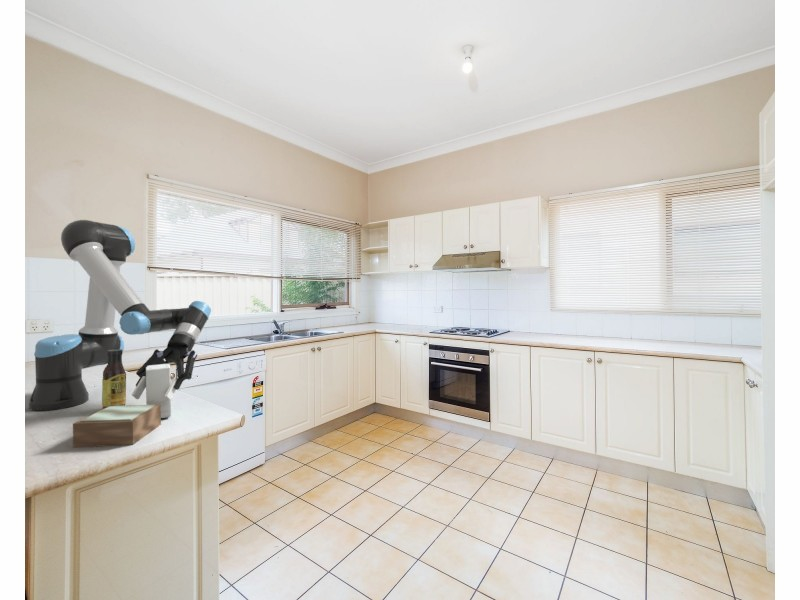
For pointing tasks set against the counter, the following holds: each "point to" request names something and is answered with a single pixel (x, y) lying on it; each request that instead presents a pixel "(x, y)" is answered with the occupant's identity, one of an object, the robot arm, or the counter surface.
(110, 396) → the sauce bottle
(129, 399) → the counter surface
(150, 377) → the skincare box
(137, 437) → the riser
